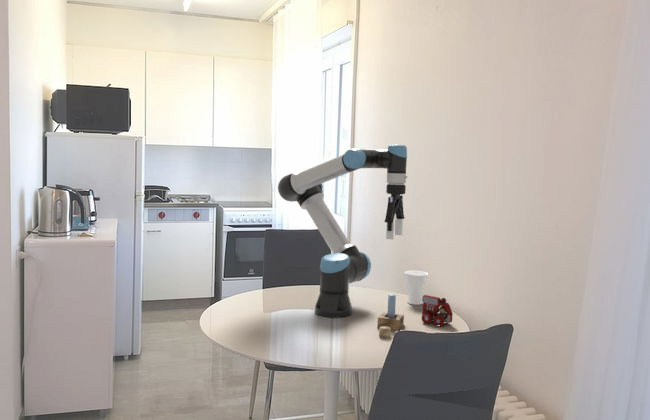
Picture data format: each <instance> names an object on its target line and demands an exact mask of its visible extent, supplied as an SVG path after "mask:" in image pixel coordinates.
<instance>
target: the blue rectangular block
mask: <svg viewBox="0 0 650 420" xmlns="http://www.w3.org/2000/svg"><path fill="white" fill-rule="evenodd" d="M396 298H397V295H396V294H391V293H390V294H388V296H387V313H388V316H387V317H389V318H395V314H396V300H397V299H396Z"/></svg>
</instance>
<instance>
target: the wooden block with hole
mask: <svg viewBox="0 0 650 420" xmlns="http://www.w3.org/2000/svg"><path fill="white" fill-rule="evenodd" d="M387 316H388V311H387V312H386V311H383V312H382V313H381V314H380V315H378V317H377V329H379V328H380V327H382V326H387V327H390V328H391V331H398V330H399V329H400V330H401V328H403V327H404V325H405V324H404V323H405V322H404V319H405V314H402V313H395V318H389V317H387ZM400 330H399V331H400Z"/></svg>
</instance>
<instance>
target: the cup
mask: <svg viewBox="0 0 650 420" xmlns="http://www.w3.org/2000/svg"><path fill="white" fill-rule="evenodd" d="M403 273H404V277H405V282H406V284H407V304H410V305H414V306H415V305H417V306H419V305H423V302H422V297H423V295H424V294H423V292H424V287H425V284H426V281H427V279H428V276H429V273H428V272H427V271H423V270H415V269H414V270H413V269H412V270H405V271H403Z"/></svg>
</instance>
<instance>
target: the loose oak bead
mask: <svg viewBox="0 0 650 420" xmlns="http://www.w3.org/2000/svg"><path fill="white" fill-rule="evenodd" d="M378 329H379V333H378V334H379V335H378V336H379V338H383V339H388V338H389V339H390V338H391V332H392V330H391V328H390V327H387V326H382V327H380V328H378Z"/></svg>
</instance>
